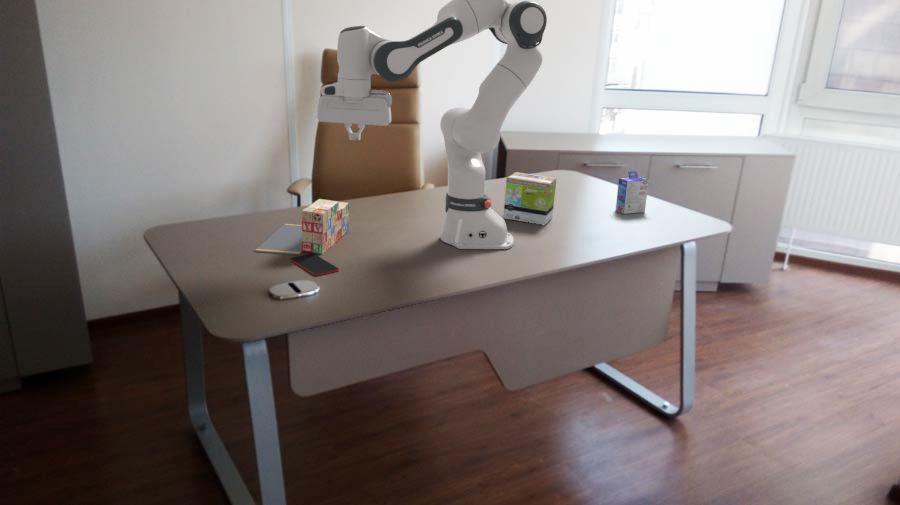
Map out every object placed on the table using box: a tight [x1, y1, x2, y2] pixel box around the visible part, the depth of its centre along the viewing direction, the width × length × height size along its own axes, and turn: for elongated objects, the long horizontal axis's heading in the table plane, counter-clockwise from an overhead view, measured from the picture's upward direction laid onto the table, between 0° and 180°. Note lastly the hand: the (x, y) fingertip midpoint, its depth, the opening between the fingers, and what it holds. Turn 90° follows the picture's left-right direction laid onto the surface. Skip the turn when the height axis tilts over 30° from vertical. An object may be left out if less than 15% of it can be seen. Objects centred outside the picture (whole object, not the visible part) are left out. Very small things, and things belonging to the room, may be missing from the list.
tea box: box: [503, 171, 557, 226], centre depth 220 cm, size 15×10×15 cm
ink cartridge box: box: [615, 170, 650, 215], centre depth 233 cm, size 10×6×14 cm, turn 114°
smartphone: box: [289, 252, 340, 277], centre depth 175 cm, size 7×1×15 cm
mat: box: [254, 223, 304, 256], centre depth 193 cm, size 13×25×1 cm, turn 174°
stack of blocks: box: [301, 198, 350, 255], centre depth 190 cm, size 21×6×12 cm, turn 168°
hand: (354, 139), depth 181 cm, fingers closed
